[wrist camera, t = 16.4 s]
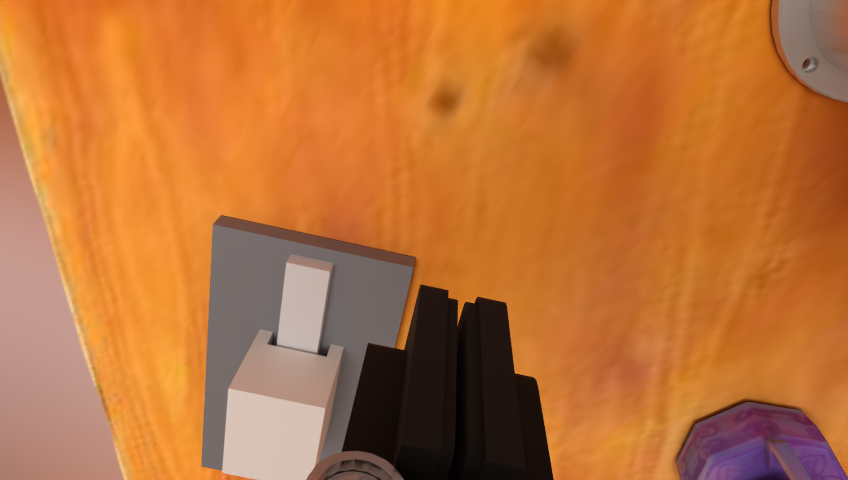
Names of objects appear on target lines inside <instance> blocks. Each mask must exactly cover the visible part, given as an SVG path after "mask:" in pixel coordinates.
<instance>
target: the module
mask: <svg viewBox="0 0 848 480" xmlns="http://www.w3.org/2000/svg"><path fill="white" fill-rule="evenodd" d="M272 337H273V332H271V331H266V330H262V329H260V330H259V332H258V334H257V335H256V337H255V339H254V341H253V343H252V345H251V347H250V349H249V350H248V352H247V354H246V356H245V358H244V360H243V362H242V364H241V365H240V367H239V369H238V371H237V373H236V375H235V377H234V379H233V380H232V382H231V384H230V386H229V388H228V399H227V413H226V426H225V440H224V454H223V467H222V473H226V474H231V475H236V476H241V477H246V478H251V479H256V480H306V479H307V477H308V476H309V474H310V473H311V471H312V470H313V469H314V467H315V466H316V465H317V464H318V463H319V459H320V456H321V452H322V449H323V445H324V442H325V438H326V434H327V431H328V427H329V424H330V419H331V413H332V408H333V403H334V397H335V392H336V387H337V381H338V376H339V371H340V365H341V360H342V354H343V349H344V347H342V346H338V345H333V344H331V345H330V348H329V351H328V354H327V357H326V356H321V355H316V354H311V353H307V352H302V351H297V350H292V349H288V348H283V347H278V346H273V345H272Z"/></svg>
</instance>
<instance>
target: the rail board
mask: <svg viewBox="0 0 848 480" xmlns="http://www.w3.org/2000/svg"><path fill="white" fill-rule="evenodd" d="M414 262H415V257H412V256H407V255H402V254H398V253H393V252H389V251H384V250H379V249H375V248H370V247H366V246H361V245H356V244H352V243H347V242H342V241H338V240H333V239H329V238H324V237H319V236H315V235H310V234H306V233H301V232H296V231H292V230H287V229H282V228H278V227H273V226H269V225H264V224H259V223H255V222H250V221H246V220H241V219H236V218H232V217H227V216H222V215H221V216H220V217H219V218H218V219H217V221H216V222H215V223H214V224H213V237H212V258H211V279H210V300H209V321H208V342H207V363H206V385H205V406H204V427H203V448H202V467H207V468H212V469H217V470H222V467H223V454H224V440H225V426H226V413H227V399H228V388H229V386H230V384H231V382H232V380H233V379H234V377H235V375H236V373H237V371H238V369H239V367H240V365H241V364H242V362H243V360H244V358H245V356H246V354H247V352H248V350H249V349H250V347H251V345H252V343H253V341H254V339H255V337H256V335H257V334H258V332H259V330H260V329H262V330H266V331H271V332H273V337H272V345H273V346H278V347H283V348H288V349H292V350H297V351H302V352H307V353H311V354H316V355H321V356H326V357H327V354H328V351H329V348H330V345H331V344H333V345H338V346H342V347H344V349H343V354H342V360H341V365H340V371H339V376H338V381H337V387H336V392H335V397H334V403H333V408H332V413H331V419H330V424H329V427H328V431H327V434H326V438H325V442H324V445H323V449H322V452H321V456H320V459H319V463H320V462H321V461H322V460H324V459H325V458H327V457H328V456H331V455H334V454H337V453H340V452H342V448H343V444H344V440H345V435H346V431H347V427H348V423H349V419H350V415H351V411H352V407H353V402H354V398H355V394H356V390H357V386H358V382H359V378H360V374H361V369H362V365H363V361H364V357H365V353H366V349H367V345H368V343H372V344H377V345H381V346H386V347H391V348H395V344H396V340H397V336H398V332H399V328H400V323H401V319H402V315H403V311H404V306H405V302H406V298H407V294H408V289H409V285H410V281H411V277H412V272H413V268H414Z"/></svg>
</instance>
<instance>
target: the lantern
mask: <svg viewBox="0 0 848 480" xmlns="http://www.w3.org/2000/svg"><path fill="white" fill-rule="evenodd" d="M676 462H677V466H678V470H679V474H680V479H681V480H848V477H847V476H846V474H845V472H844V470H843V469H842V467H841V465H840V463H839V462H838V460H837V458H836V456H835V455H834V453H833V451H832V449H831V448H830V446H829V444H828V442H827V441H826V439H825V438H824V436H823V435H822V433H821V432H820V430H819V429H818V427H817V426H816V425H815V424H814V423H813V422H812V421H811V420H810V419H809V418H808V417H807V416H806V415H805V414H804V413H803V412H802V411H801V410H796V409H789V408H783V407H777V406H771V405H765V404H758V403H752V402H746V403H743V404H741V405H738V406H736V407H734V408H731V409H729V410H727V411H724V412H722V413H720V414H717V415H715V416H713V417H710V418H708V419H706V420H703V421H701V422H699V423H696V424H695V425H694V427H693V429H692V431H691V433H690V435H689V437H688V439H687V441H686V443H685V445H684V447H683V449H682V451H681V453H680V455H679V457H678V459H677V461H676Z"/></svg>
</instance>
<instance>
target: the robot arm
mask: <svg viewBox="0 0 848 480" xmlns="http://www.w3.org/2000/svg"><path fill="white" fill-rule="evenodd" d="M771 20H772V34H773V37H774V41H775V45H776V48H777V52H778V54H779V56H780V57H781V59H782V61H783V63H784V65H785V66H786V68H787V69H788V70H789V72H790V73H791V74H792V75H793V76H794V77H795V78H796V79H797V80H798V81H799V82H800V83H802V84H803V85H805V86H806V87H808V88H809V89H811V90H813V91H814V92H816V93H819V94H821V95H824V96H826V97H828V98H830V99H834V100H838V101H842V102H847V103H848V0H773V1H772V8H771ZM805 60H806V63H805V64H804V65H803V62H804V61H805ZM802 65H803V66H802ZM457 317H458V300H455V299H450V298H448V290H444V289H439V288H435V287H430V286H425V285H420V288H419V292H418V296H417V300H416V304H415V308H414V312H413V316H412V320H411V324H410V328H409V332H408V337H407V341H406V345H405V349H404V350H400V349H396V348H391V347H386V346H381V345H377V344H372V343H368V345H367V349H366V353H365V357H364V361H363V365H362V369H361V374H360V378H359V382H358V386H357V390H356V394H355V398H354V402H353V407H352V411H351V415H350V419H349V423H348V427H347V431H346V435H345V440H344V444H343V448H342V452H340V453H337V454H334V455H331V456H328V457H327V458H325V459H324V460H322V461H321V462H320V463H318V464H317V465H316V466H315V467H314V469H313V470H312V471H311V473H310V474H309V476H308V477H307V479H306V480H553V474H552V468H551V462H550V456H549V450H548V444H547V438H546V432H545V426H544V420H543V414H542V408H541V402H540V396H539V390H538V385H537V381H536V379H535V378H534V377H529V376H524V375H520V374H515V372H514V363H513V355H512V347H511V338H510V330H509V321H508V313H507V305H506V303H504V302H500V301H495V300H491V299H486V298H481V297H477V299H476V301H475V303H469V302H465V304H464V307H463V310H462V313H461V317H460V320H459V323H458V327H457Z"/></svg>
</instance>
